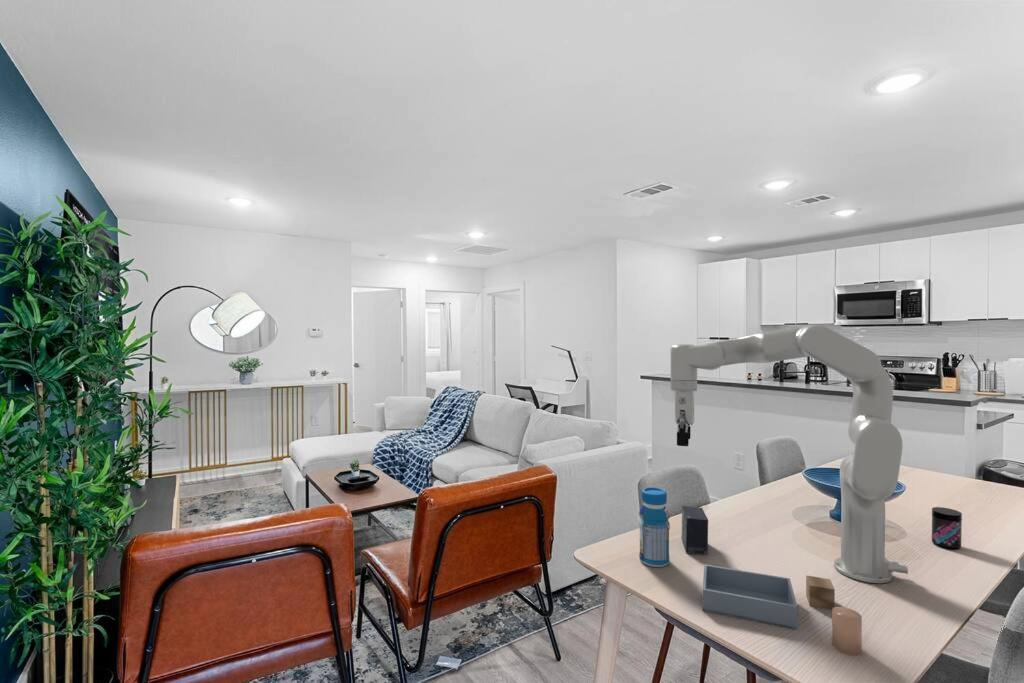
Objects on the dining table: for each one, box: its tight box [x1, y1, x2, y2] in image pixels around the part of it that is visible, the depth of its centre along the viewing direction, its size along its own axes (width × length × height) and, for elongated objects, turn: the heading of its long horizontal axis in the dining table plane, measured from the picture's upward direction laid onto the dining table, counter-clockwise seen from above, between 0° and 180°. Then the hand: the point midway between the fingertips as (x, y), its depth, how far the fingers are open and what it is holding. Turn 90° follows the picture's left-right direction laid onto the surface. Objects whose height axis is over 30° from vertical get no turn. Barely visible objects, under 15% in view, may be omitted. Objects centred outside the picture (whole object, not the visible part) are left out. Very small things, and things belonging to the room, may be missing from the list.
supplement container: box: [931, 506, 963, 551], centre depth 147 cm, size 7×7×10 cm
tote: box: [702, 563, 799, 631], centre depth 117 cm, size 19×13×5 cm
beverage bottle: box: [638, 486, 671, 568], centre depth 139 cm, size 8×8×20 cm
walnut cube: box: [805, 575, 836, 611], centre depth 117 cm, size 5×5×5 cm
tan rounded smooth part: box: [831, 606, 863, 656], centre depth 101 cm, size 5×5×7 cm
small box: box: [680, 505, 709, 556], centre depth 148 cm, size 11×6×10 cm, turn 168°
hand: (683, 442), depth 148 cm, fingers open, 9 cm apart
